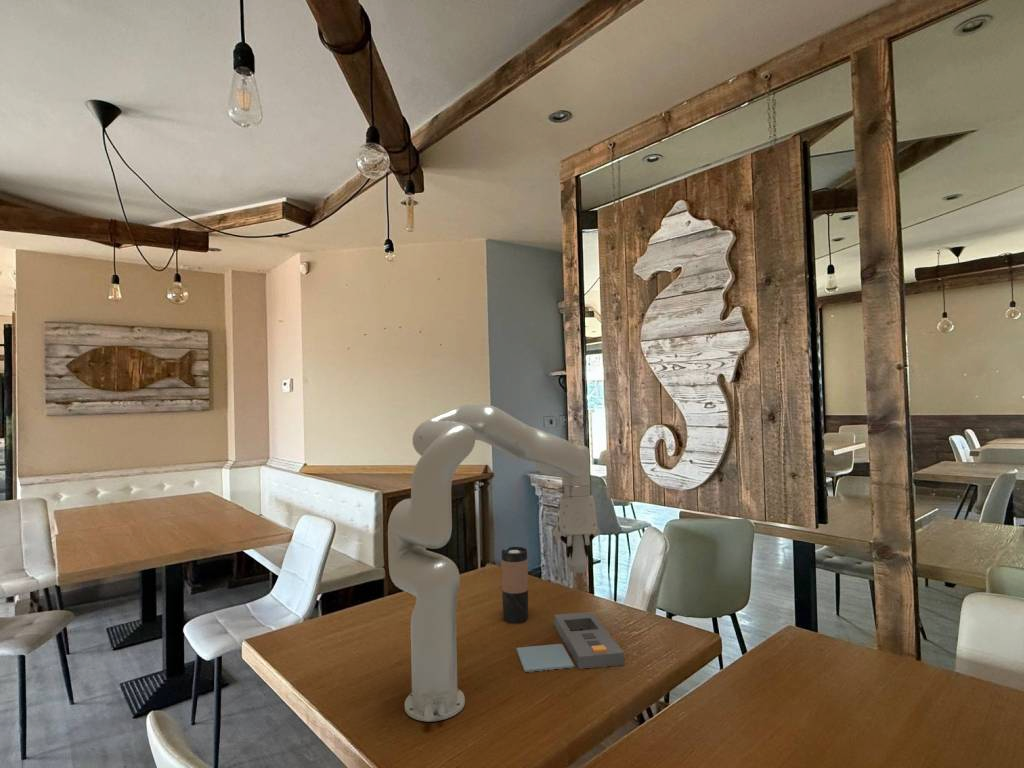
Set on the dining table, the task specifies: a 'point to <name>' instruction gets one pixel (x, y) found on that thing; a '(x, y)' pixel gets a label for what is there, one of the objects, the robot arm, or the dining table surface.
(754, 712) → the dining table surface
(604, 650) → the power strip
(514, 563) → the travel mug
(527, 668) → the rubber mat
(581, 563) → the salt shaker
